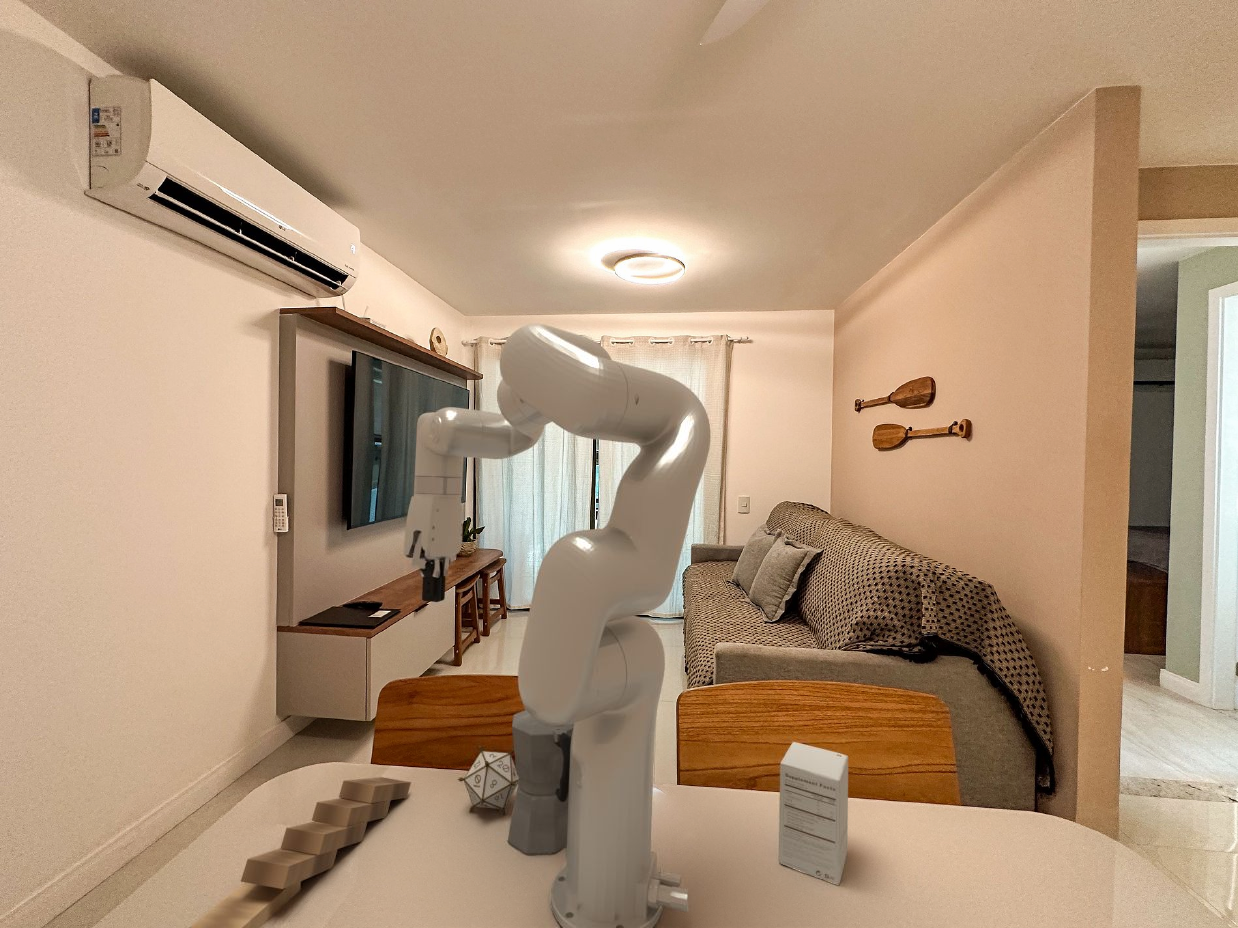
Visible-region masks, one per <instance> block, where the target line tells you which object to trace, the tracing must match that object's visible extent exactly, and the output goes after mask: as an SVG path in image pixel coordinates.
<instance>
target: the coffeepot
mask: <svg viewBox="0 0 1238 928" xmlns="http://www.w3.org/2000/svg"><path fill="white" fill-rule="evenodd" d="M511 725H512V726H511V729H512V730H511V731H512V739H513V748H514V759H515V761H514V762H515V767H516V771H517V775H518V776H519V779H518V784H517V786H516V792H515V798H514V803H513V807H512V813H511V819H510V824H509V831H508V837H507V842H508V843H509V844H510V845H511V847H513V848H514V849H515V850H517V851H519V853H520V852H521V853H523V854H526V855H530V856H531V855H532V856H545V855H551V854H555V853H558V852H560V851H561V850H563V849H565V848H567V830H568V802H569V774H570V747H571V738H572V732H573V727H574V723H573V724H570V725H567V726H562V727H550V726H545V725H543V724H541V723H539V722H537V721H536V720H534V719H533V718H532V717H531V716H530V715H529V713H528V712H527V710H526V709H525V708H524V710H522V711H519V712H516V713H515V714H513V718H512V724H511Z"/></svg>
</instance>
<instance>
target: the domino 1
mask: <svg viewBox="0 0 1238 928" xmlns="http://www.w3.org/2000/svg"><path fill="white" fill-rule="evenodd" d="M301 883H302V881H300V882H298V883H296V884H293V885H291V886H289V887H286V888H284V889H280V888H275V887H269V886H263V885H257V884H251V883H246V882H243V884H241V885H240V886H239V887H237V888H236V889H235V890H234V891H233V892H231V893H230V894H229V895H228V896H227V897H225V898H224V899H222V900H221V901H220V902H219V903H218V904H216V905H215V906H214V907H213V908H211V909H210V910H209V911H207V912H206V914H204V915H203V916H202V917H200V918H199V919H198V920H197V921H196V922H194V923H193V924H192V925H191V926H189V927H188V928H261V927H262V926H263V925H264V924H265V923H266V922H267V921H269V919H270V918H272V917H273V916H274V915H275V914H276V913H277V912H278V911H279V910H280V909H281V908H283V907H284V906H285V905H286V904H287V903H288V902H289V901H290V900H291V899H292V898H293V897H294V896H296V894H297V893H299V892H300V891H301Z"/></svg>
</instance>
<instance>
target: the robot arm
mask: <svg viewBox="0 0 1238 928" xmlns="http://www.w3.org/2000/svg"><path fill="white" fill-rule="evenodd" d="M499 371H500V375H501V378H502V379H501V380H500V382H499V383H498V386H497V390H496V402H497V405H498V408H499V411H500V413H498V412H497V413H496V412H492V411H485V410H484V411H483V410H477V409H470V408H462V407H454V406H449V407H448V406H447V407H442V408H439V410H436V411H435V412H434V411H433V412H425V413H422V414H421V415H420V416H419V417H418V419H417V422H416V423H417V425H416V443H415V444H416V445H415V464H414V487H413V496H411V499H410V503H409V506H408V509H407V510H408V511H407V517H406V523H405V530H404V531H405V532H404V541H403V555H404V557H405V558H408V559H411V567H412V568H415V569H419V570H420V576H421V577H422V587H421V588H422V592H421V593H422V594H421V595H422V596H421V600H422V601H423V602H431V603H439V602H442V601H445V599H446V578H447V575H448V573H449V568H450V567H449V566H450V564H451V563H453V562H454V561H455V560H457V554H459V552H460V551H462V550H461V549H462V545H463V544H462V543H463V506H462V499H461V498H462V496H463V495H462V494H463V475H464V474H463V472H464V458H473V459H474V458H475V459H487V460H488V459H491V460H504V459H508V458H511V457H514V456H516V455H517V456H518V455H519V454H521V453H524V452H526V451H527V450H529V449H531V448H533V447H534V446H535V445H536V444H537V443H538V442H539V440H540V438H541V437H542V434H543V432H544V431H545V426H546V425H548V424H551V423H553V424H555V425H556V426H558V427H560V428H561V429H562V430H564V431H566V432H568V433H570V434H572V435H575V436H577V437H580V438H586V439H591V440H600V441H609V442H618V443H626V444H628V443H630V444H636V445H637V446H638V447H639V448H640V451H639V452H638V454H637V455H636V456H635V458H634V459H633V460H632V461H631V462H630V464H629V465H628V467H627V468H626V470H625V471H624V473H623V475H622V477H621V479H620V480H619V483H618V486H617V487H616V491H615V497H614V501H613V507H612V509H611V512H610V516H609V519H608V521H607V524H606V525H605V526H604V527H603V528H595V529H582V530H577V531H572V532H569V533H567V534H565V535H563V536H562V537H560V538H559V539H557V540H556V541H555V542H554V543H553V544H552V545H551V547H550V548H549V549H548V551H547V552H546V554H545V555H544V557H543V559H542V561H541V563H540V566H539V569H538V571H537V576H536V580H535V585H534V589H533V594H532V598H531V602H530V603H531V604H530V608H529V612H528V616H527V622H526V625H525V630H524V635H523V638H522V643H521V644H522V645H521V650H520V655H519V658H518V659H519V660H518V672H517V677H518V679H517V683H518V691H519V695H520V699H521V701H522V705H523V707H524V710H525V709H526V710H527V712H528V713H529V715H530V716H531V717H532V718H533V719H534V720H536V721H537V722H539V723H541V724H543V725H545V726H550V727H562V726H567V725H570V724H573V723H574V727H573V732H572V738H571V747H570V774H569V802H568V830H567V846H566V860H565V861H566V865H565V867H564V868H563V869H561V870H560V871H559V873H558V874H557V875H556V877H555V879H554V881H553V883H552V885H551V891H550V905H551V911H552V914H553V916H554V918H555V920H556V921H557V922H558V924H559V925H560V927H562V928H654V927H655V925H656V924H657V923H658V921H659V919H660V918H661V916H662V912H663V907H668V908H670V909H671V910H676V911H680V912H684V913H687V912H688V910H689V901H690V889H687V888H686V889H685V888H682V874H677V873H672V872H665V871H662V868H660V867H657V865H658V863H657V862H658V852H655V851H651V850H652V822H653V821H652V820H653V818H652V817H653V790H654V789H653V787H654V785H653V784H654V783H653V782H654V763H655V762H654V760H655V758H654V757H655V736H656V734H655V733H656V723H657V722H656V721H657V716H658V715H657V714H658V708H659V703H660V697H661V693H662V689H663V688H662V687H663V682H664V677H665V670H666V669H665V668H666V657H665V650H664V645H663V642H662V639H661V637H660V635H659V633H658V632H657V630H656V629H655V627H654V626H653V625H652V624H650V622H648V621H647V620H645V619H643V618H641V617H639V616H638V615H642V614H645V613H648V612H651V611H653V610H656V609H657V608H660V607H661V606H662V605H663V604H664V603H665V602H666V601H667V599H668V597H669V596H670V594H671V593H672V589H673V586H674V582H675V580H676V575H677V571H678V567H679V563H680V560H681V554H682V551H683V547H684V543H685V539H686V535H687V530H688V527H689V524H690V517H691V513H692V509H693V505H694V501H695V498H696V495H697V492H698V488H699V485H700V482H701V479H702V476H703V474H704V471H705V467H706V464H707V460H708V457H709V452H710V447H711V438H712V437H711V425H710V424H711V423H710V420H709V415H708V413H707V411H706V408H705V406H704V404H703V402H702V401H701V400H700V398H699V397H698V396H697V395H696V394H695V393H694V392H693V391H692V390H691V389H690V388H689V387H687V385H685V384H684V383H681V382H680V381H678V379H677V380H676V379H675V378H673V377H671V376H668V375H665V374H662V373H660V372H656V371H653V370H651V369H650V370H649V369H647V368H642V367H638V366H634V365H630V364H626V363H623V362H619V361H615V360H612V357H611V355H610V354H609V352H608V351H607V349H605V348H604V347H603V346H602V344H599V343H598V342H597V341H595V340H593V339H591V338H588V337H586V336H582V335H579V334H576V333H573V332H571V331H566V330H563V329H560V328H556V327H554V326H551V325H548V324H543V323H529V324H526V325H523V326H521V327H519V328H518V329H516V330H515V331H513V333H511V335H510V336H509V337H508V338H507V339H506V341H505V343H504V344H503V346H502V350H501V352H500V357H499Z"/></svg>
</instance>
